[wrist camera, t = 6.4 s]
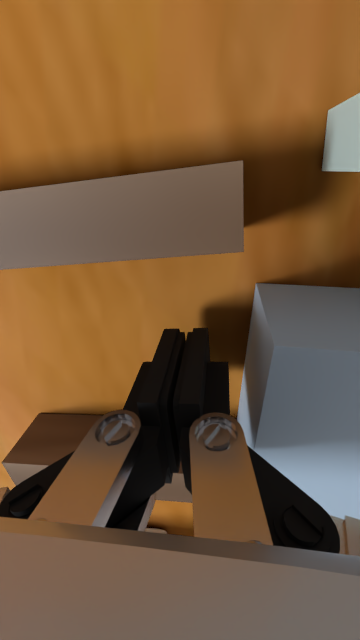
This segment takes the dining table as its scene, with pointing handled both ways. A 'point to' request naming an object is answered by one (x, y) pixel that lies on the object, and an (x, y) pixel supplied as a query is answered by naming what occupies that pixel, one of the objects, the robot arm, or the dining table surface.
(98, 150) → the dining table surface
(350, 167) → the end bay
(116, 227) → the brown parallel rails
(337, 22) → the dining table surface
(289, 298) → the block
